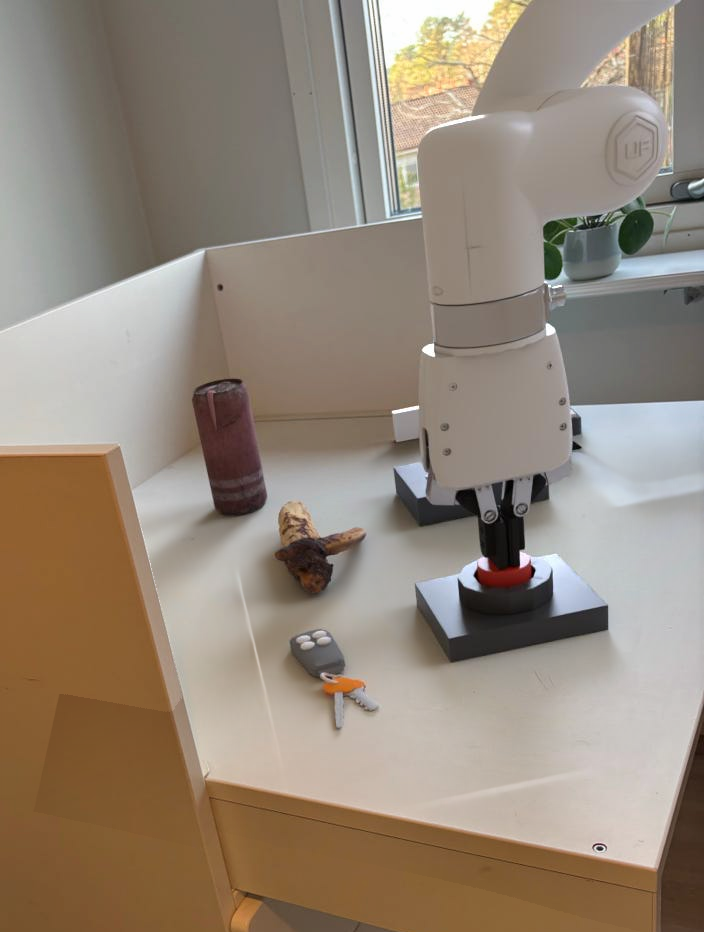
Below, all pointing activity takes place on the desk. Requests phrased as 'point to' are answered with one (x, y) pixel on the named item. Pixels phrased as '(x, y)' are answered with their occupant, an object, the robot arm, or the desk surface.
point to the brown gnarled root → (310, 547)
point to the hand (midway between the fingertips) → (503, 560)
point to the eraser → (406, 423)
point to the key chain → (329, 669)
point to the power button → (504, 572)
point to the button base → (510, 609)
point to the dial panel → (413, 496)
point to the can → (230, 446)
